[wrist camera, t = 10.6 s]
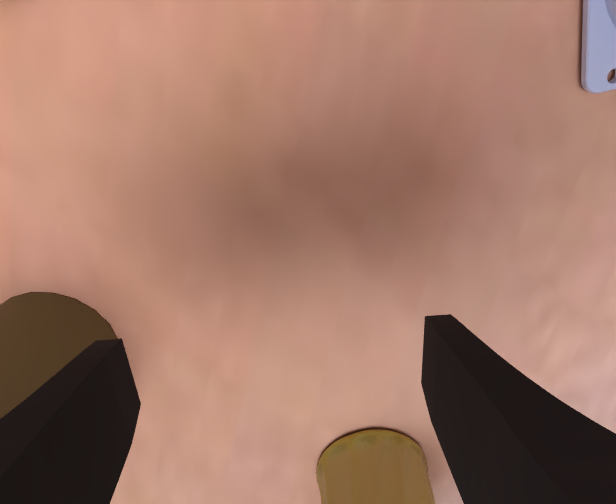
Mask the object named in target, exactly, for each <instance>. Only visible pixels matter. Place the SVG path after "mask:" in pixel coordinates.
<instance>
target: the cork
mask: <svg viewBox="0 0 616 504" xmlns="http://www.w3.org/2000/svg"><path fill="white" fill-rule="evenodd" d="M110 339H117V337H116V335H115V333H114V331H113V330H112V328H111V326H110V324H109V323H108V322H107V321H106V320H105V319H104V318H103V317H102V316H100V315H99V314H98V313H97V312H96V311H95V310H94V309H92V308H90V307H89V306H87V305H85V304H83V303H81V302H80V301H78V300H76V299H74V298H70V297H66V296H63V295H59V294H56V293H39V292H30V293H26V294H23V295H19V296H15V297H11V298H10V299H8V300H7V301H5V302H4V303H3V304H1V305H0V419H1V418H2V417H3V416H5V415H6V414H7V413H9V412H10V411H11V410H12V409H14V408H15V407H16V406H17V405H19V404H20V403H21V402H23V401H24V400H25V399H26V398H28V397H29V396H30V395H31V394H32V393H33V392H35V391H36V390H37V389H38V388H39V387H41V386H42V385H43V384H44V383H45V382H47V381H48V380H49V379H50V378H51V377H53V376H54V375H55V374H56V373H57V372H58V371H60V370H61V369H62V368H63V367H64V366H65V365H67V364H68V363H69V362H70V361H71V360H72V359H74V358H75V357H76V356H77V355H78V354H80V353H81V352H82V351H83V350H84V349H86V348H87V347H88V346H90V345H91V344H92V343H94V342H95V341H96V340H110Z"/></svg>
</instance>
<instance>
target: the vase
mask: <svg viewBox="0 0 616 504" xmlns="http://www.w3.org/2000/svg"><path fill="white" fill-rule="evenodd" d="M316 474H317V482H318V485H319V489H320V494H321V503H322V504H435V500H434V496H433V492H432V488H431V484H430V481H429V476H428V469H427V463H426V459H425V456H424V454H423V452H422V450H421V448H420V446H419V445H418V444H417V443H416V442H414V441H413V440H412V439H410V438H409V437H407V436H405V435H403V434H400V433H397V432H394V431H389V430H379V429H373V430H364V431H360V432H356V433H353V434H350V435H348V436H345V437H343V438H341V439H339V440H337V441H336V442H334V443H333V444H332V445H331V446H329V447H328V448H327V449H326V450H325V452H324V453H323V454H322V456H321V457H320V460H319V462H318V466H317V472H316Z"/></svg>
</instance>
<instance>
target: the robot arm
mask: <svg viewBox="0 0 616 504" xmlns="http://www.w3.org/2000/svg"><path fill="white" fill-rule="evenodd" d="M612 69H615V76H614V78H613V79H612V80H611V81H609V82H608V80H607V76H608V73H609V72H610V71H611V70H612ZM581 83H582V87H583V88H584V90H586V91H588V92H591V93H601V92H606V91H610V90H614V89H616V0H583V27H582V67H581ZM421 384H422V388H423V392H424V396H425V400H426V404H427V407H428V411H429V415H430V418H431V422H432V425H433V427H434V430H435V432H436V435H437V437H438V440H439V443H440V445H441V448H442V450H443V453H444V455H445V458H446V460H447V463H448V465H449V468H450V470H451V473H452V475H453V478H454V480H455V483H456V485H457V488H458V490H459V493H460V495H461V498H462V500H463V503H464V504H616V434H615V433H613V432H612V431H610V430H608V429H606V428H605V427H603V426H601V425H599V424H598V423H596V422H594V421H593V420H591V419H589V418H588V417H586V416H584V415H583V414H581V413H580V412H578V411H576V410H575V409H573V408H571V407H570V406H568V405H567V404H565V403H564V402H562V401H560V400H559V399H557V398H556V397H554V396H553V395H551V394H550V393H549V392H547V391H546V390H544V389H543V388H542V387H540V386H539V385H537V384H536V383H535V382H533V381H532V380H530V379H529V378H528V377H526V376H525V375H524V374H522V373H521V372H520V371H518V370H517V369H516V368H514V367H513V366H512V365H511V364H509V363H508V362H507V361H506V360H504V359H503V358H502V357H501V356H499V355H498V354H497V353H496V352H494V351H493V350H492V349H491V348H490V347H488V346H487V345H486V344H485V343H484V342H482V341H481V340H480V339H479V338H478V337H477V336H475V335H474V334H473V333H472V332H471V331H470V330H468V329H467V328H466V327H465V326H464V325H463V324H461V323H460V322H459V321H458V320H457V319H456V318H454V317H453V316H452V315H451V314H450V315H436V316H425V326H424V344H423V362H422V380H421ZM140 405H141V403H140V399H139V396H138V392H137V389H136V386H135V382H134V379H133V375H132V372H131V369H130V365H129V362H128V358H127V355H126V351H125V348H124V345H123V341H122V339H110V340H96V341H95V342H94V343H92V344H91V345H90V346H88V347H87V348H86V349H84V350H83V351H82V352H81V353H80V354H78V355H77V356H76V357H75V358H74V359H72V360H71V361H70V362H69V363H68V364H67V365H65V366H64V367H63V368H62V369H61V370H60V371H58V372H57V373H56V374H55V375H54V376H53V377H51V378H50V379H49V380H48V381H47V382H45V383H44V384H43V385H42V386H41V387H39V388H38V389H37V390H36V391H35V392H33V393H32V394H31V395H30V396H29V397H28V398H26V399H25V400H24V401H23V402H21V403H20V404H19V405H17V406H16V407H15V408H14V409H12V410H11V411H10V412H9V413H7V414H6V415H5V416H3V417H2V418H1V419H0V504H110V501H111V499H112V496H113V493H114V491H115V488H116V485H117V483H118V480H119V477H120V475H121V472H122V469H123V467H124V464H125V461H126V458H127V456H128V453H129V450H130V447H131V444H132V440H133V436H134V432H135V428H136V424H137V419H138V414H139V410H140Z"/></svg>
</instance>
